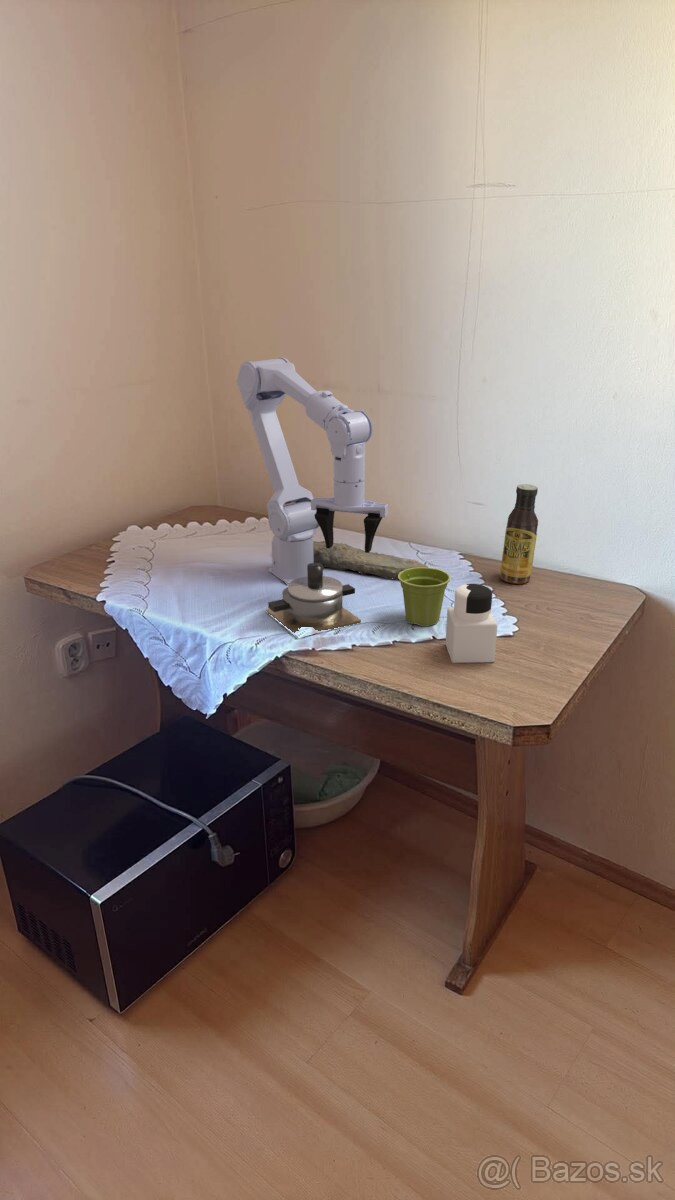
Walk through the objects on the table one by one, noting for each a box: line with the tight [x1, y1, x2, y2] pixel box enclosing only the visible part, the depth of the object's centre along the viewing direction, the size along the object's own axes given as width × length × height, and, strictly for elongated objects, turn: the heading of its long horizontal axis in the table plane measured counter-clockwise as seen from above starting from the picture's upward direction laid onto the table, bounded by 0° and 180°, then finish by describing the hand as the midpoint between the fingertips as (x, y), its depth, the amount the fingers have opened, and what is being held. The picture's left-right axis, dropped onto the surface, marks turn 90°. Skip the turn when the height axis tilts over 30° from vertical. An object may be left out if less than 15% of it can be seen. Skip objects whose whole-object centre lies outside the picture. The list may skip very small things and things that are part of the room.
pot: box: [265, 583, 362, 633], centre depth 148 cm, size 13×17×5 cm
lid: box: [287, 563, 343, 603], centre depth 146 cm, size 10×10×5 cm
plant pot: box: [398, 567, 451, 627], centre depth 146 cm, size 9×9×9 cm
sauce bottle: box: [500, 483, 539, 585], centre depth 161 cm, size 6×6×20 cm
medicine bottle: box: [445, 583, 498, 664], centre depth 133 cm, size 7×7×12 cm
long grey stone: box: [313, 540, 430, 580], centre depth 173 cm, size 35×5×10 cm
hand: (348, 548), depth 153 cm, fingers open, 7 cm apart
